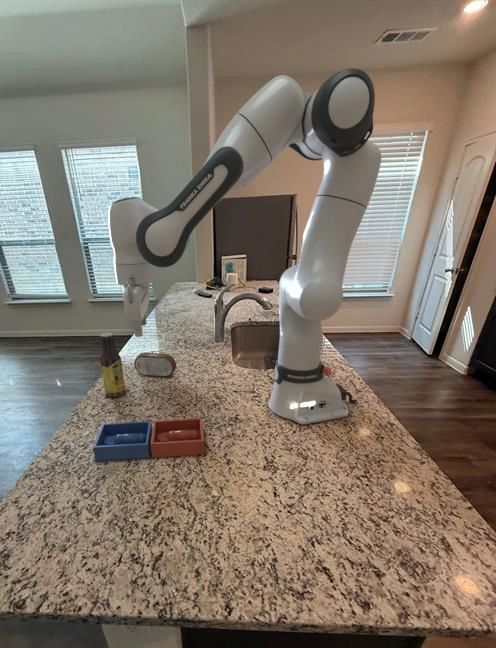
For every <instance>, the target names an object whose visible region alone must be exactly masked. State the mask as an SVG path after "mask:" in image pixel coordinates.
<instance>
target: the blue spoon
mask: <svg viewBox="0 0 496 648" xmlns="http://www.w3.org/2000/svg"><path fill="white" fill-rule="evenodd" d="M137 443H146V435H145V434H143V433H133V434H119V435H117V436H109V437H107V438H106V439H105V440H104V444H105V445H121V444H137Z"/></svg>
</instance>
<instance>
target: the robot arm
mask: <svg viewBox="0 0 496 648" xmlns="http://www.w3.org/2000/svg"><path fill="white" fill-rule="evenodd" d="M374 87H375V86H374V83H373V80H372V79H371V77H370V76H369V74H367V73H366V72H365V71H364V70H362V69H359V68H353V67H352V68H351V67H350V68H345V69H342V70H339V71H337V72H335V73H333V74H332V75H330V76H329V77H328V78H327V79H325V81H323V83H322V84H321V85H320V87H319V88H318V89H316V91H315V92H314V93H307V92H305V91H304V90H302V88H301V86H300V85H299V84H298V82H297V81H296V80H295V79H293V78H292V77H290V76H289V75H286V74H280V75H277V76H275V77H273V78H272V79H270V80H269V81H268V82H267V83H266V84H264V85H263V86H262V87H261V88H260V89H258V91H256V92H255V93H254V94H253V95H252V96H251V97H250V98H249V99H248V100H247V101H246V102H245V103H244V104H243V106H242V107H241V108H240V109H239V110H238V112H236V113H235V115H234V116H233V117H232V119H230V120H229V123H228V124H227V125H226V127H225V128H224V129H223V131H222V133H221V134H220V135H219V137H218V139H217V141H216V143H215V144H214V146H213V147H212V150H211V151H210V153H209V155H208V157H207V159H206V160H205V162H204V164H203V165H202V167H201V168H200V169H199V171H198V172H197V173H196V174H195V175H194V176H193V177H192V179H191V180H190V181H189V182H188V183H187V184H186V185H185V186H184V187H183V189H182V190H181V191H180V192H179V194H177V196H176V197H175V198H174V199H173V200H172V201H171V202H170V203H169V204H167V206H165V207H163V208H161V209H158V208H156V207H154V206H152V205H150V203H147V202H146V201H145V200H143V198H141V197H138V196H131V197H124V198H120V199H117V200H116V201H113V202H112V203H111V204H110V206H109V209H108V229H109V239H110V244H111V247H112V249H113V253H114V254H113V255H114V256H113V266H114V273H115V279H116V284H117V285H120V286H122V299H123V308H124V316H125V321H126V323H128V324H131V325H132V328H133V331H134V332H133V333H134V337H136V338H141V337H143V335H144V333H143V332H144V331H143V326H144V327H145V326H147V323H148V322H147V309H148V307H149V305H150V300H151V299H150V298H151V297H150V295H151V293H150V292H151V291H150V284H153V282H154V273H153V267H158V268H168V267H172V266H174V265H175V264H176V263H178V262H179V261H180V259H181V258H182V257H183V254H185V252H186V250H187V249H188V247H189V244H190V236H191V234H192V233H193V231H194V230H195V229H196V227H197V226H198V225H199V224H200V223H201V222H202V221H203V219H205V217H206V216H207V215H208V214H209V213H210V212H211V211H212V210H213V209H214V208H215V206H217V204H219V202H221V200H222V199H224V198H225V197H227V196H228V195H230V194H231V193H233V192H235V191H237V190H239V189H242V188H244V187H246V186H247V185H249V184H250V183H251V182H252V181H254V180H255V179H257V178H258V177H259V176H260V175H261V174H262V173H263V172H264V171H265V170H266V169H268V167H269V166H270V165H271V164H272V163H273V162H274V161H275V160H276V159H277V157H279V155H280V154H281V153H282V152H283V151H284V150H285V149H286V148H288V147H289V148H291V149H292V150H293V151H295V152H296V153H297V154H299V156H301V157H303V158H304V159H306V160H308V161H322V163H323V174H322V180H321V182H320V185H319V188H318V190H317V193H316V196H315V198H314V202H313V205H312V207H311V210H310V213H309V216H308V218H307V222H306V223H305V224H306V225H305V227H304V231H303V232H302V245H301V251H300V256H299V260H298V264H295V265H292V266H290V267H288V268H287V269H285V270H284V272H283V273H282V274H281V276H280V278H279V281H278V284H279V285H278V290H279V292H278V293H279V294H278V313H279V314H278V315H279V318H278V319H279V342H278V352H277V353H278V354H277V359H276V360H275V367H274V374H273V375H274V384H273V387H272V392H271V395H270V398H269V400H268V401H267V406H268V408H269V410H270V411H271V412H272V413H274V414H275V415H277V416H279V417H281V418H285V419H288V420H291V421H293V422H295V423H297V424H300V425H308V424H314V423H319V422H324V421H325V422H326V421H329V420H335V419H339V418H345V417H346V418H347V417H348V416H349V407H348V405H347V404H346V400H347V396H348V401H349V403H351V404H354V403H357V401H358V400H357V399H353V394H352V393H350V392H349V391H347V390H346V389H345V388H344V387H343V386H342V385H341V384H336V383H335V382H333V380H331V379H330V378H329V377H330V376H332V373H333V370H332V369H330V367H328V366H326V365H325V364H324V363H322V362H321V354H322V348H323V343H324V332H323V327H322V322H323V321H326V320H328V319H330V318H332V317H333V316H334V315H335V314H336V313H337V312H339V310H340V308H341V306H342V304H343V300H344V290H343V283H344V278H345V273H346V269H347V263H348V259H349V256H350V255H349V254H350V251H351V248H352V245H353V242H354V239H355V237H356V236H357V232H358V230H359V227H360V225H361V223H362V220H363V218H364V215H365V214H366V211H367V208H368V206H369V203H370V200H371V198H372V195H373V194H374V193H373V192H374V189H375V187H376V184H377V180H378V177H379V173H380V169H381V164H382V152H381V150H380V148H379V147H378V146H377V144H375V143H374V142H372V141H371V140H369V139H370V138H371V136H372V135H373V133H374V132H373V130H374V111H375V105H376V103H375V102H376V93H375V88H374Z"/></svg>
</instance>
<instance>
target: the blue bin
mask: <svg viewBox="0 0 496 648" xmlns="http://www.w3.org/2000/svg"><path fill="white" fill-rule="evenodd" d="M152 430H153V424H152V420H144V421H143V420H142V421H125V422H124V421H123V422H110V423H109V422H108V423H107V422H106V423H102V424H101V426H100V429H99V430H98V433H97V435H96V439H95V441H94V444H93V447H92V450H93V454H94V458H95V462H106V461H107V462H109V461H122V460H138V459H149V458H151V437H152ZM133 433H143V434H145V435H146V443H137V444H121V445H105V444H104V440H105V439H106V438H107V437H109V436H117V435H119V434H133Z"/></svg>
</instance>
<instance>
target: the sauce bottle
mask: <svg viewBox="0 0 496 648" xmlns="http://www.w3.org/2000/svg"><path fill="white" fill-rule="evenodd" d="M99 340H100V343H101V349H102V350H101V352H100V356H99V361H100V368H101V373H102V378H103V385H104V390H105V394H106V396H107V397H109V398H118V397H121V396H123V395H124V394H125V393H126V383H125V376H124V369H123V363H122V357H121V356H120V353H119V352H118V350H117V348H116V344H115V335H114V333H113V332H103V333H101V334H100V335H99Z"/></svg>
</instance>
